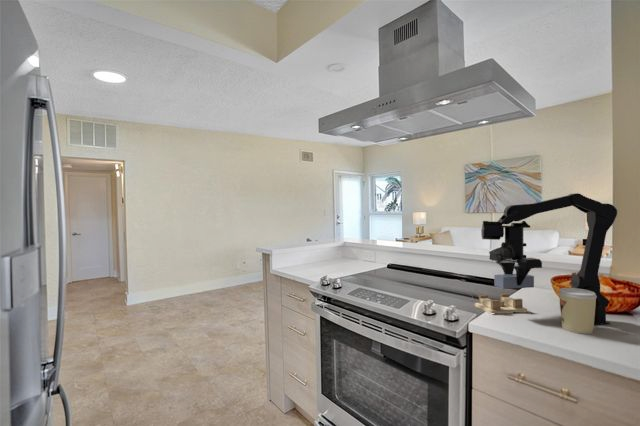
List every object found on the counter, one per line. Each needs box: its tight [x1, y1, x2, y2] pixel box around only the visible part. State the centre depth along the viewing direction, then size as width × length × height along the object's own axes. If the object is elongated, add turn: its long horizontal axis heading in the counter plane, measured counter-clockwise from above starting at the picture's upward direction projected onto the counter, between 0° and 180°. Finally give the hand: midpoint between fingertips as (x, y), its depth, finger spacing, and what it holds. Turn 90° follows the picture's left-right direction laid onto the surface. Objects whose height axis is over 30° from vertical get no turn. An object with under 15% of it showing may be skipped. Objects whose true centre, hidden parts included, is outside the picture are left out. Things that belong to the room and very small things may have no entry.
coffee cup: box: [558, 287, 597, 335], centre depth 101 cm, size 9×9×12 cm
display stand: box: [474, 293, 528, 314], centre depth 122 cm, size 10×14×4 cm
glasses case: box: [493, 273, 535, 290], centre depth 115 cm, size 4×12×4 cm, turn 99°
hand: (513, 283), depth 115 cm, fingers closed on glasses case, 4 cm apart
